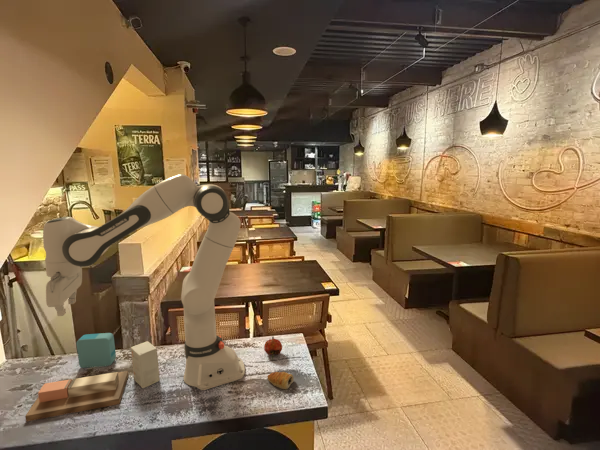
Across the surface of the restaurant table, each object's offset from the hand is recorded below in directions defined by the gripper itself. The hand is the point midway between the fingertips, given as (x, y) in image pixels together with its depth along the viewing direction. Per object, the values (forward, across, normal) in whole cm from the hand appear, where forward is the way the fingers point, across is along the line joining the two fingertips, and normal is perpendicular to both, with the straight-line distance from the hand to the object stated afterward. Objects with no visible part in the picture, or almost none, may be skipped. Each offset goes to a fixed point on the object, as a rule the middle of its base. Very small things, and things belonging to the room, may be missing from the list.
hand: (67, 309), depth 109 cm
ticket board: (+32, 0, -2) cm, 32 cm away
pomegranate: (+30, +5, -70) cm, 76 cm away
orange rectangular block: (+30, 0, +5) cm, 31 cm away
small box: (+32, +3, -22) cm, 39 cm away
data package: (+32, +20, -2) cm, 38 cm away
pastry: (+30, -13, -69) cm, 76 cm away
